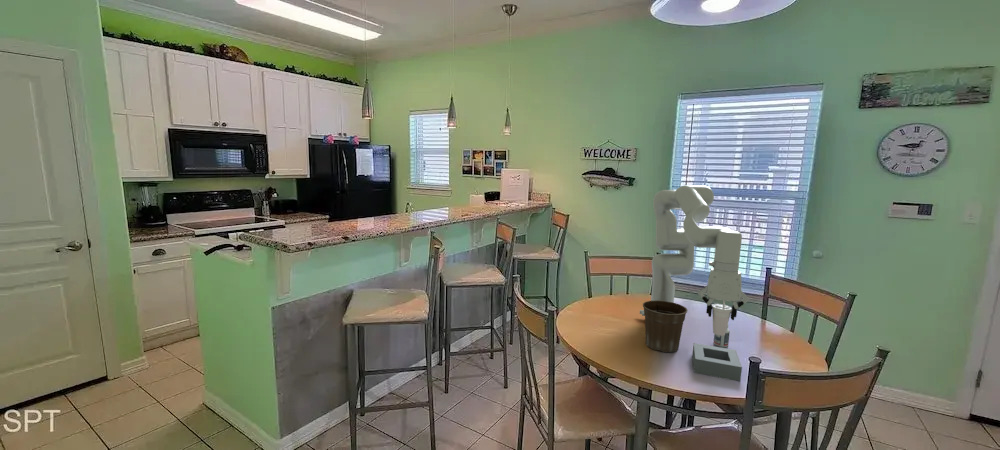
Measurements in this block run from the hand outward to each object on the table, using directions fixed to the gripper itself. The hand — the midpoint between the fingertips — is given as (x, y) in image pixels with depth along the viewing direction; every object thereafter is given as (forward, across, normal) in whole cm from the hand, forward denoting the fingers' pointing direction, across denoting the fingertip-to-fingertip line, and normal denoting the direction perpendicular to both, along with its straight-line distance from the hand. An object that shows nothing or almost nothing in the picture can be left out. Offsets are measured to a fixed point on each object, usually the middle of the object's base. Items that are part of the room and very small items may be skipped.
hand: (720, 316), depth 144 cm
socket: (+19, 0, 0) cm, 19 cm away
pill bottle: (+19, +4, +23) cm, 30 cm away
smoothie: (+6, 0, 0) cm, 6 cm away
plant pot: (+19, -18, +11) cm, 29 cm away
